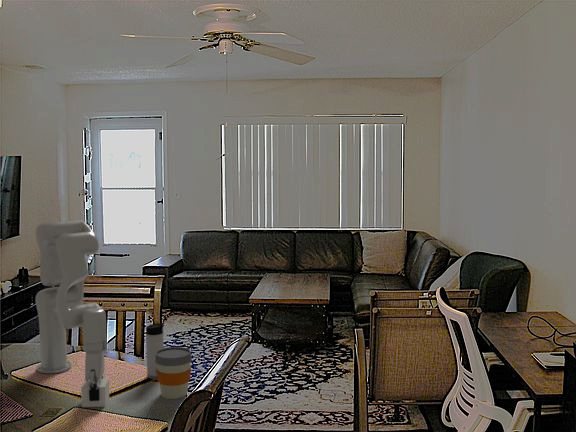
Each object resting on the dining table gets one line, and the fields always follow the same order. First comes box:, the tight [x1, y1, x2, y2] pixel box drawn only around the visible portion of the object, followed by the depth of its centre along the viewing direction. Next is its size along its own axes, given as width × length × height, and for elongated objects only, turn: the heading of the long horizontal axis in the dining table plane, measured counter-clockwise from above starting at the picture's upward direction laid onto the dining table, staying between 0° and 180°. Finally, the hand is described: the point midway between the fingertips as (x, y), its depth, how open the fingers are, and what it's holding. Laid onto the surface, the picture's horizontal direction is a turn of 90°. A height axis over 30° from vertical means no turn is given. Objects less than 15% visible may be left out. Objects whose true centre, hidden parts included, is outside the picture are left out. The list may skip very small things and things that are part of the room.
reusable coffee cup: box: [155, 346, 193, 400], centre depth 232 cm, size 13×13×15 cm
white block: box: [80, 377, 110, 408], centre depth 226 cm, size 8×8×7 cm
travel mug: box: [145, 323, 165, 380], centre depth 249 cm, size 6×7×20 cm
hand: (96, 395), depth 226 cm, fingers closed on white block, 7 cm apart
